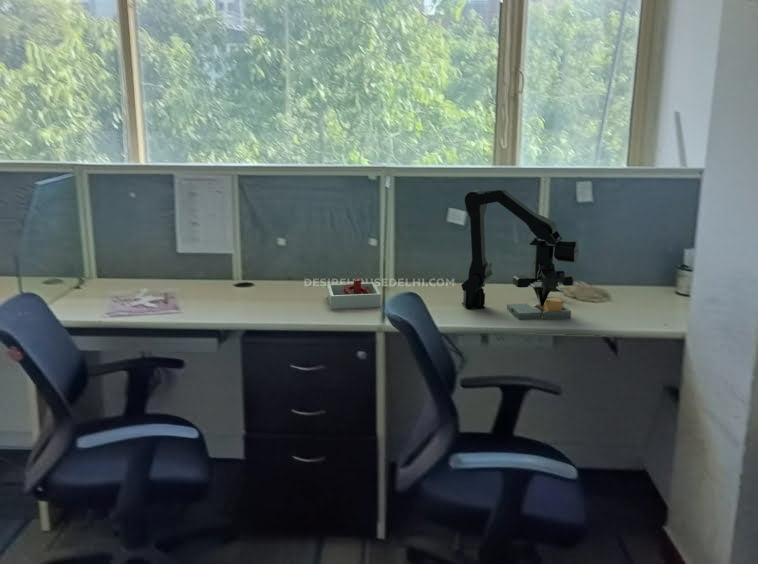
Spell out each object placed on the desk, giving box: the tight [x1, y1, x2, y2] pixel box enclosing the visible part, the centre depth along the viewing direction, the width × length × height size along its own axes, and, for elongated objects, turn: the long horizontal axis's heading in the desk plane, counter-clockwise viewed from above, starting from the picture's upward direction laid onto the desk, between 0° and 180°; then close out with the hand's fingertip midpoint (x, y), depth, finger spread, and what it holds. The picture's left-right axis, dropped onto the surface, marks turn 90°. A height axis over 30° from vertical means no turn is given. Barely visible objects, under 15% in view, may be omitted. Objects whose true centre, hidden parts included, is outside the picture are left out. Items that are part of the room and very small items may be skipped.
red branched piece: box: [344, 277, 372, 295], centre depth 257 cm, size 11×12×8 cm
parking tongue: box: [506, 303, 532, 314], centre depth 247 cm, size 7×5×2 cm
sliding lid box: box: [512, 303, 572, 321], centre depth 241 cm, size 17×9×2 cm, turn 98°
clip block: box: [544, 297, 563, 311], centre depth 241 cm, size 5×4×4 cm
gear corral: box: [326, 282, 382, 310], centre depth 258 cm, size 17×16×4 cm
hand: (541, 305), depth 240 cm, fingers closed
